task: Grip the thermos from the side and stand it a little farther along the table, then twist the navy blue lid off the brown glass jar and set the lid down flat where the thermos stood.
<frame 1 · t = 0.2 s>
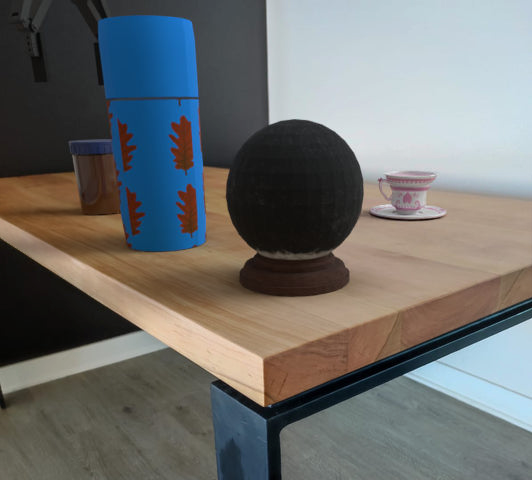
hand: (76, 84, 89), 20 cm above the table, tool pointing down, fingers open, 13 cm apart
thermos: (166, 243, 72), on the table
lid: (94, 143, 90), point 11 cm above the table, screwed on, not yet turned
jar: (104, 211, 95), on the table
black crystal ball: (294, 280, 56), on the table
teacup: (407, 215, 87), on the table
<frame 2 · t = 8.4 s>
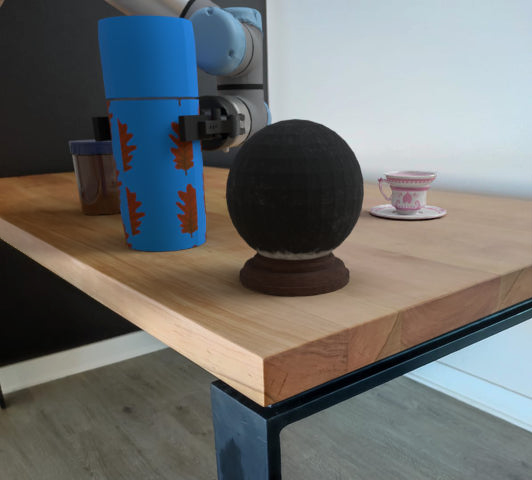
hand: (137, 129, 63), 14 cm above the table, tool horizontal, fingers closed on thermos, 11 cm apart
thermos: (166, 243, 72), on the table, touching gripper
everything else where it was.
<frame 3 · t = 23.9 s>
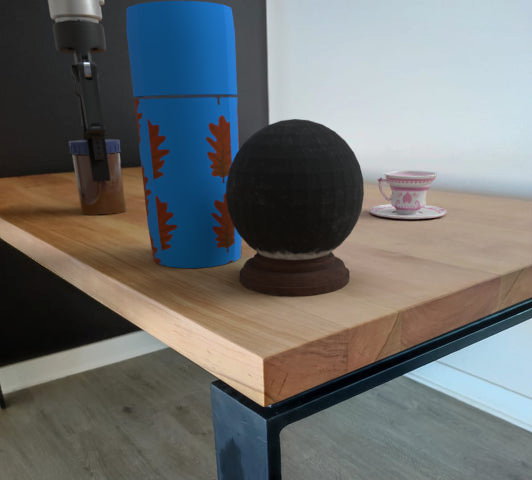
hand: (99, 177, 92), 6 cm above the table, tool pointing down, fingers closed on lid, 8 cm apart
thermos: (197, 257, 65), on the table
lid: (94, 143, 90), point 11 cm above the table, screwed on, not yet turned, touching gripper
everything else where it was.
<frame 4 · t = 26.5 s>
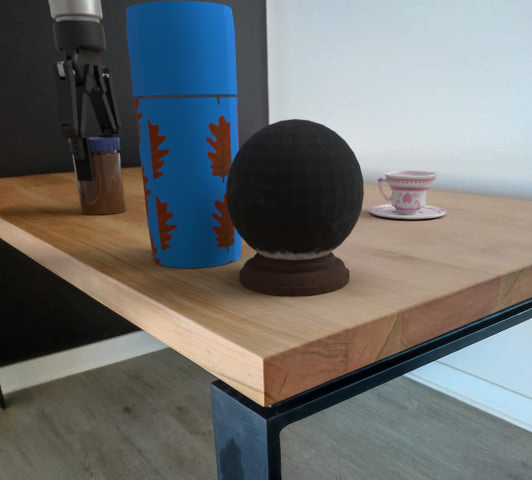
hand: (99, 177, 92), 6 cm above the table, tool pointing down, fingers closed on lid, 8 cm apart
lid: (94, 141, 90), point 11 cm above the table, off its thread, touching gripper
everything else where it was.
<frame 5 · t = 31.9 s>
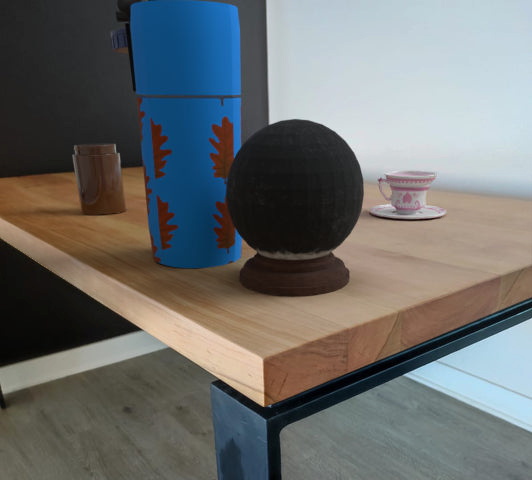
hand: (153, 92, 65), 18 cm above the table, tool pointing down, fingers closed on lid, 8 cm apart
thermos: (197, 256, 65), on the table, touching gripper, hand
lid: (147, 37, 62), point 24 cm above the table, off its thread, touching gripper
everything else where it was.
when the fingers open (18 cm above the table, at t = 32.4 s): lid drops 22 cm, resting on thermos.
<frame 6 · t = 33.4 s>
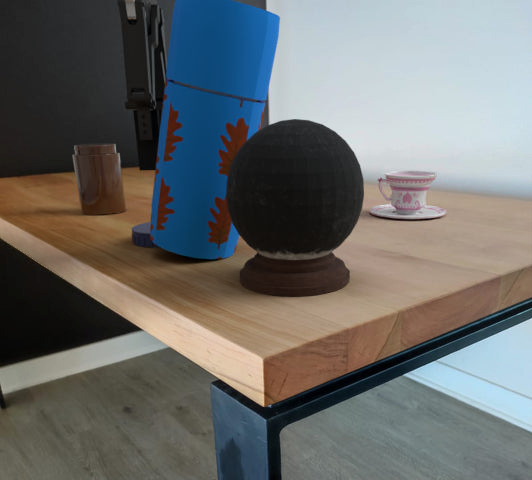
hand: (157, 166, 68), 10 cm above the table, tool pointing down, fingers open, 7 cm apart
thermos: (192, 244, 66), point 1 cm above the table, touching gripper, lid
lid: (163, 230, 72), point 1 cm above the table, off its thread, touching thermos
everything else where it was.
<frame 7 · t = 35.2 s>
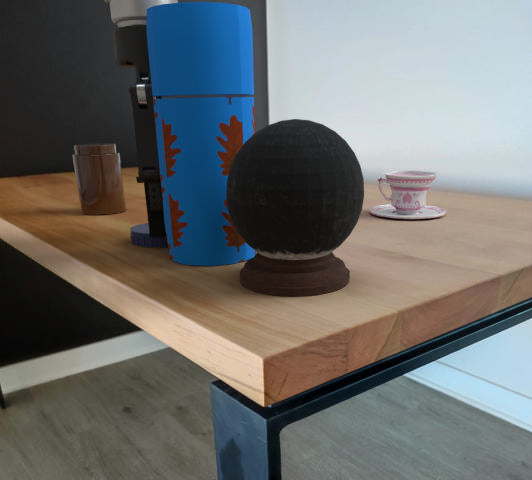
hand: (165, 229, 71), 2 cm above the table, tool pointing down, fingers closed on lid, 6 cm apart
thermos: (212, 256, 65), on the table
lid: (161, 230, 72), point 1 cm above the table, off its thread, touching gripper
everything else where it was.
when the fingers open (2 cm above the table, at t = 35.4 s): lid stays where it is, point 1 cm above the table.
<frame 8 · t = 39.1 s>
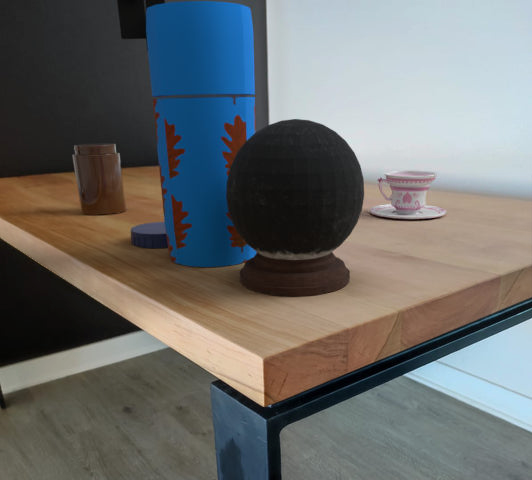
hand: (148, 45, 62), 23 cm above the table, tool pointing down, fingers open, 13 cm apart
lid: (162, 231, 72), point 1 cm above the table, off its thread
everything else where it was.
at the end: lid came off its thread; lid point 1.3 cm above the table; thermos inside the target area (1.9 cm from its centre), on the table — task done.
